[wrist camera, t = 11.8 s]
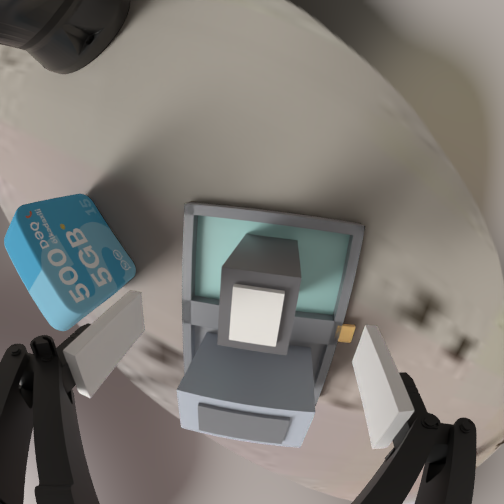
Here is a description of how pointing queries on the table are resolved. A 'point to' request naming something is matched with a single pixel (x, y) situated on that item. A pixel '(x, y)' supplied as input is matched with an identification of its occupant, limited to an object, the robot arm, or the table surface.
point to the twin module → (248, 394)
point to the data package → (67, 257)
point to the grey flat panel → (311, 263)
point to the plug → (259, 294)
